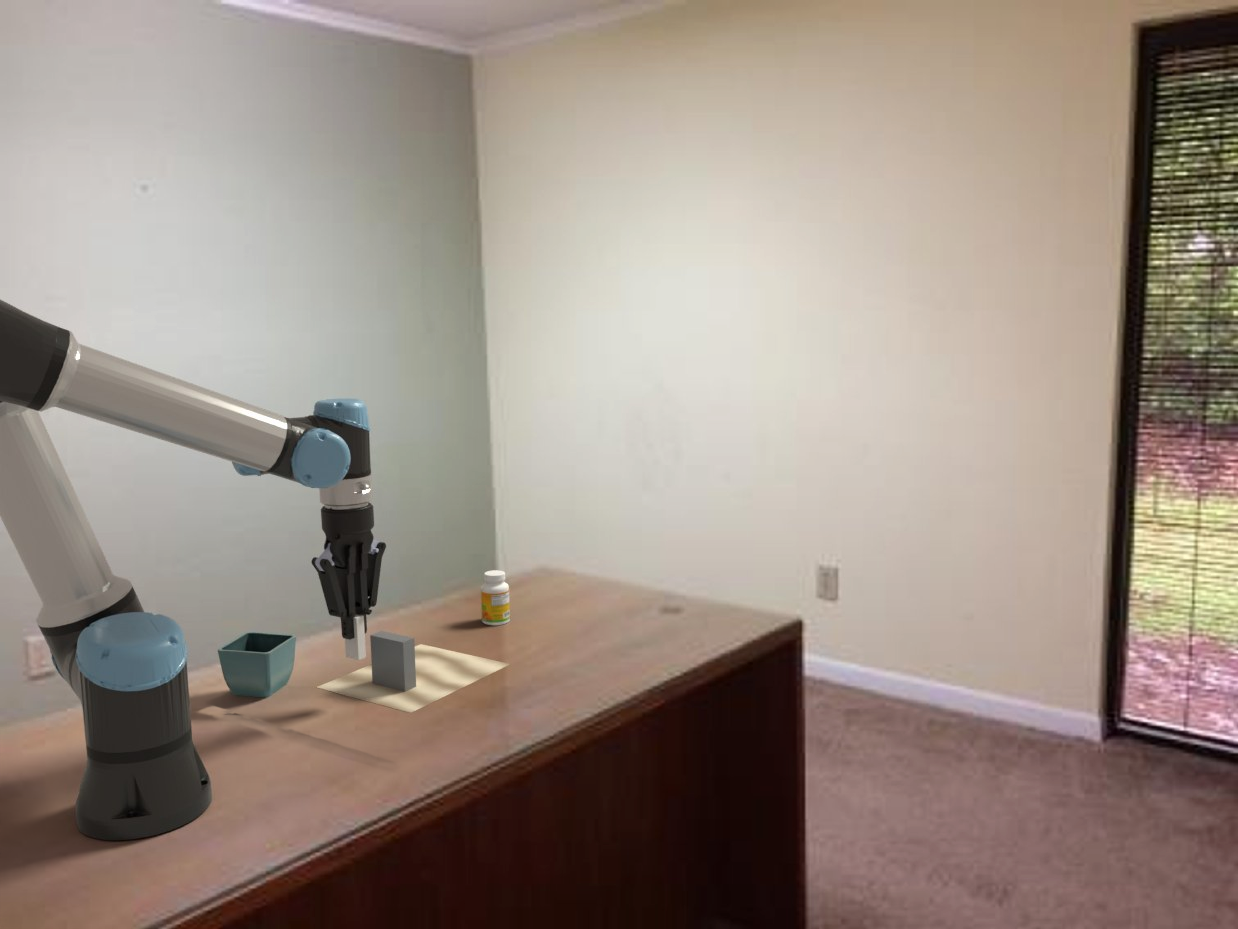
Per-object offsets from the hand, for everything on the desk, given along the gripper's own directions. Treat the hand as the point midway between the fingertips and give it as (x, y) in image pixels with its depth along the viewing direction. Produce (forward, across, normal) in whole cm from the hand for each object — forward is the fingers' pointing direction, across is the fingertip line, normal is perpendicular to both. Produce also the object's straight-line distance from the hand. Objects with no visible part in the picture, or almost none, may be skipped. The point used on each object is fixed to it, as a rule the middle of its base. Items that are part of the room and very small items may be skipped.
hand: (356, 656), depth 156 cm
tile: (+7, +8, 0) cm, 10 cm away
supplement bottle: (+9, +45, +9) cm, 46 cm away
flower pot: (+8, -4, +17) cm, 20 cm away
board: (+8, +13, 0) cm, 15 cm away
